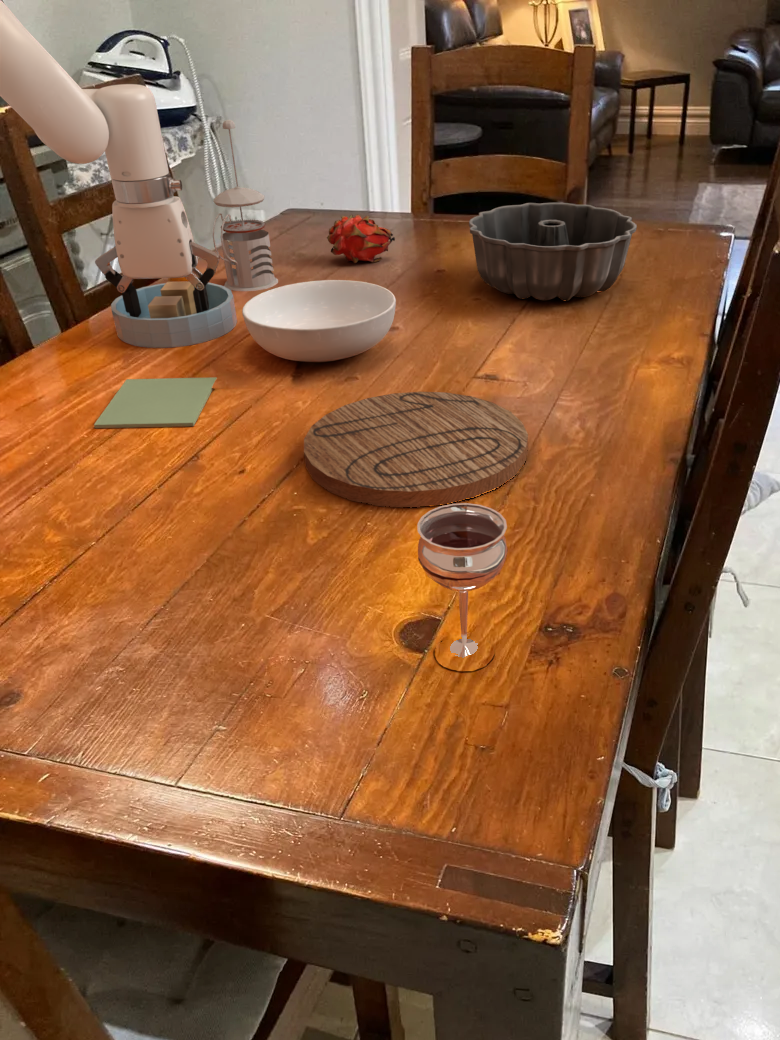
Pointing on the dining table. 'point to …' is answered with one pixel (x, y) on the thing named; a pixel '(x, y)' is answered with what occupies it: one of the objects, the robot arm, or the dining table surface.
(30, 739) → the dining table surface
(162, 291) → the block back
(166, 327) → the pan
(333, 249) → the dragon fruit
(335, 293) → the serving bowl
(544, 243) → the bundt pan
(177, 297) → the block front
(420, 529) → the wineglass
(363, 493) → the trivet
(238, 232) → the french press
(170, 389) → the mat
